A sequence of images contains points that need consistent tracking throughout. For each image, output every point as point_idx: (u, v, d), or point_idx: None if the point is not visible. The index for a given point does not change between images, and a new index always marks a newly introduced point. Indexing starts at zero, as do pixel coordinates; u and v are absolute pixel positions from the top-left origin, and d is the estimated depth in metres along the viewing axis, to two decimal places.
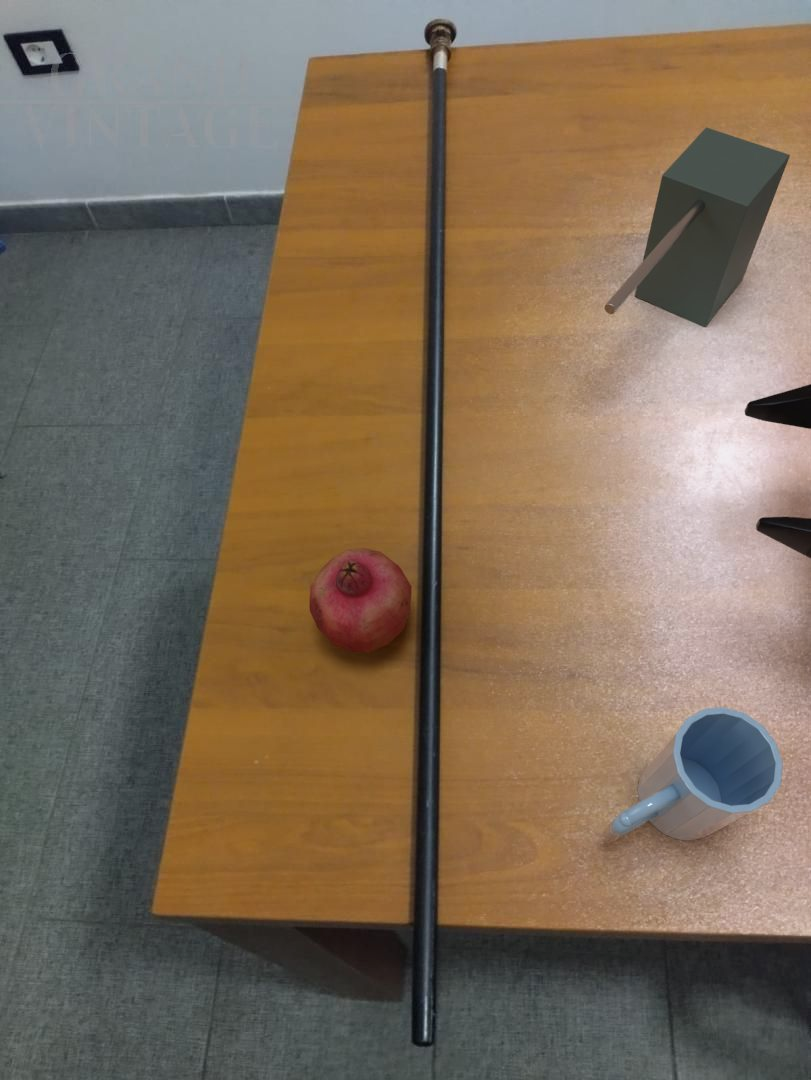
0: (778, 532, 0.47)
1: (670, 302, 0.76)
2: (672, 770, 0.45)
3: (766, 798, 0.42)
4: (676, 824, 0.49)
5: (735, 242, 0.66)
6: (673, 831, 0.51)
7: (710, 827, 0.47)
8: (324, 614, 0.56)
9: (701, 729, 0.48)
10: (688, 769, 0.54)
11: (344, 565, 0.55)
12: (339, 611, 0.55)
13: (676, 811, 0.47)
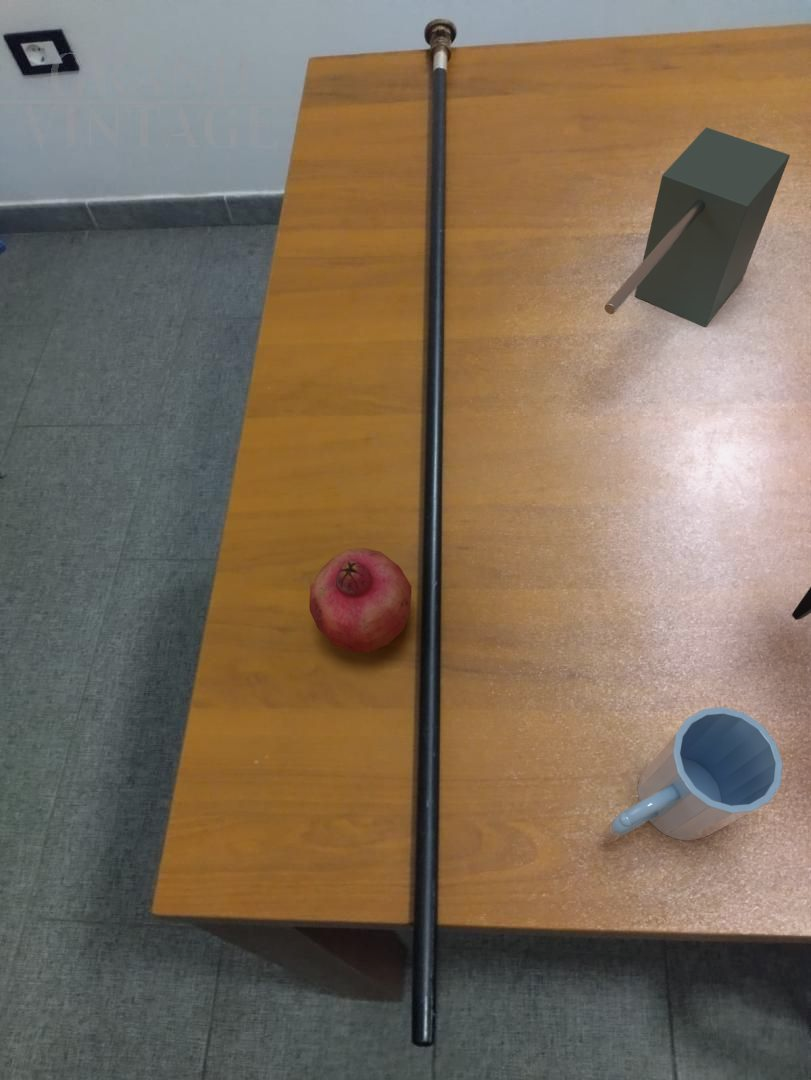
0: None
1: (670, 302, 0.76)
2: (672, 770, 0.45)
3: (766, 798, 0.42)
4: (676, 824, 0.49)
5: (735, 242, 0.66)
6: (673, 831, 0.51)
7: (710, 827, 0.47)
8: (324, 614, 0.56)
9: (701, 729, 0.48)
10: (688, 769, 0.54)
11: (344, 565, 0.55)
12: (339, 611, 0.55)
13: (676, 811, 0.47)
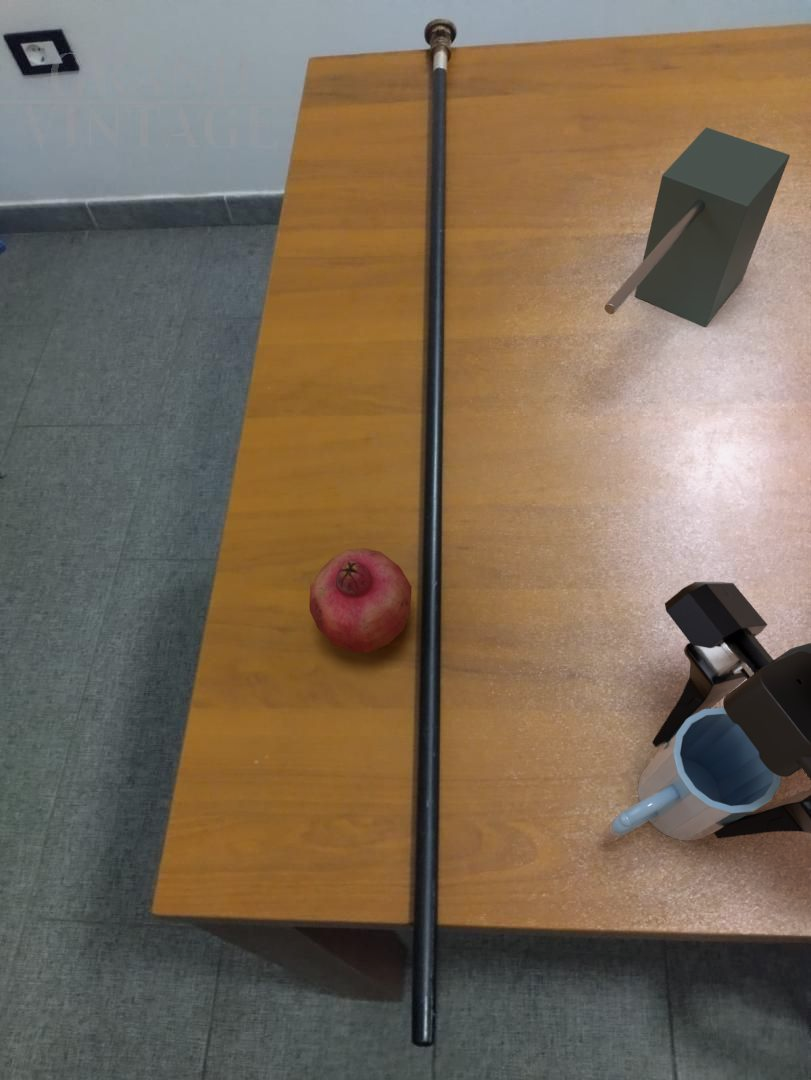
0: None
1: (670, 302, 0.76)
2: (672, 770, 0.45)
3: (766, 798, 0.42)
4: (676, 824, 0.49)
5: (735, 242, 0.66)
6: (673, 831, 0.51)
7: (710, 827, 0.47)
8: (324, 614, 0.56)
9: (701, 729, 0.48)
10: (688, 769, 0.54)
11: (344, 565, 0.55)
12: (339, 611, 0.55)
13: (676, 811, 0.47)
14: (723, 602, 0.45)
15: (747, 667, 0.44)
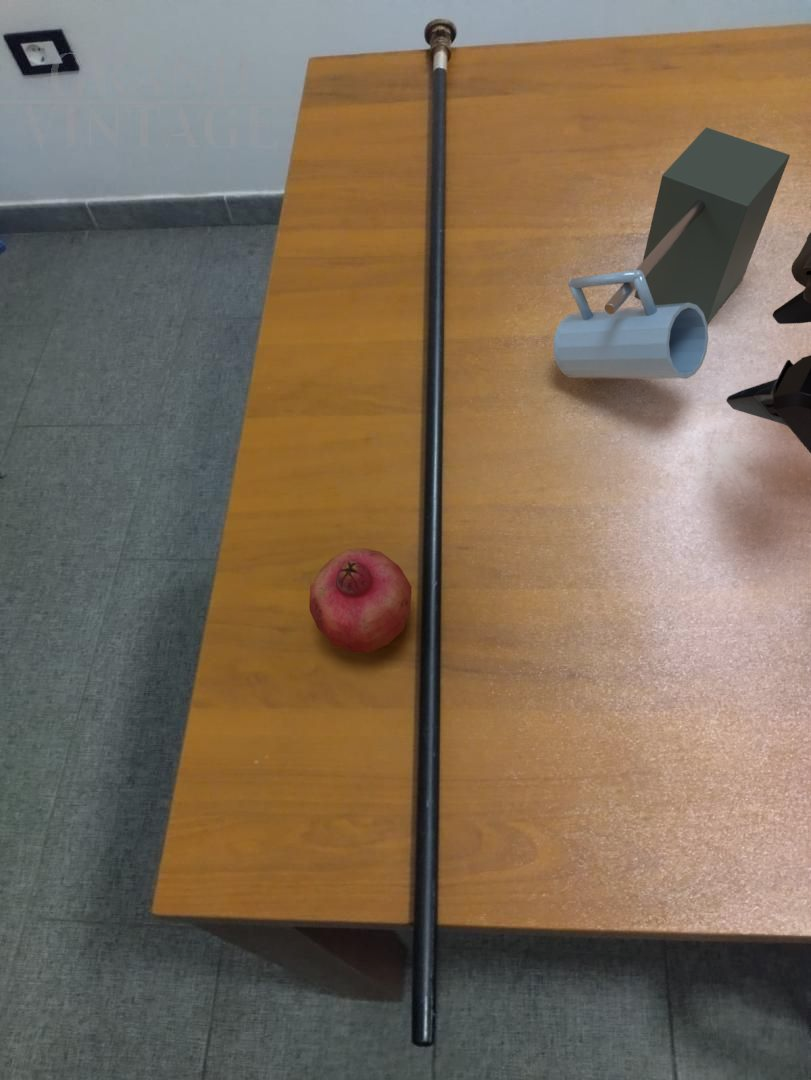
0: (740, 405, 0.56)
1: (670, 302, 0.76)
2: (671, 305, 0.61)
3: (672, 367, 0.61)
4: (592, 330, 0.66)
5: (735, 242, 0.66)
6: (573, 334, 0.67)
7: (608, 348, 0.65)
8: (324, 614, 0.56)
9: None
10: None
11: (344, 565, 0.55)
12: (339, 611, 0.55)
13: (618, 322, 0.64)
14: None
15: None
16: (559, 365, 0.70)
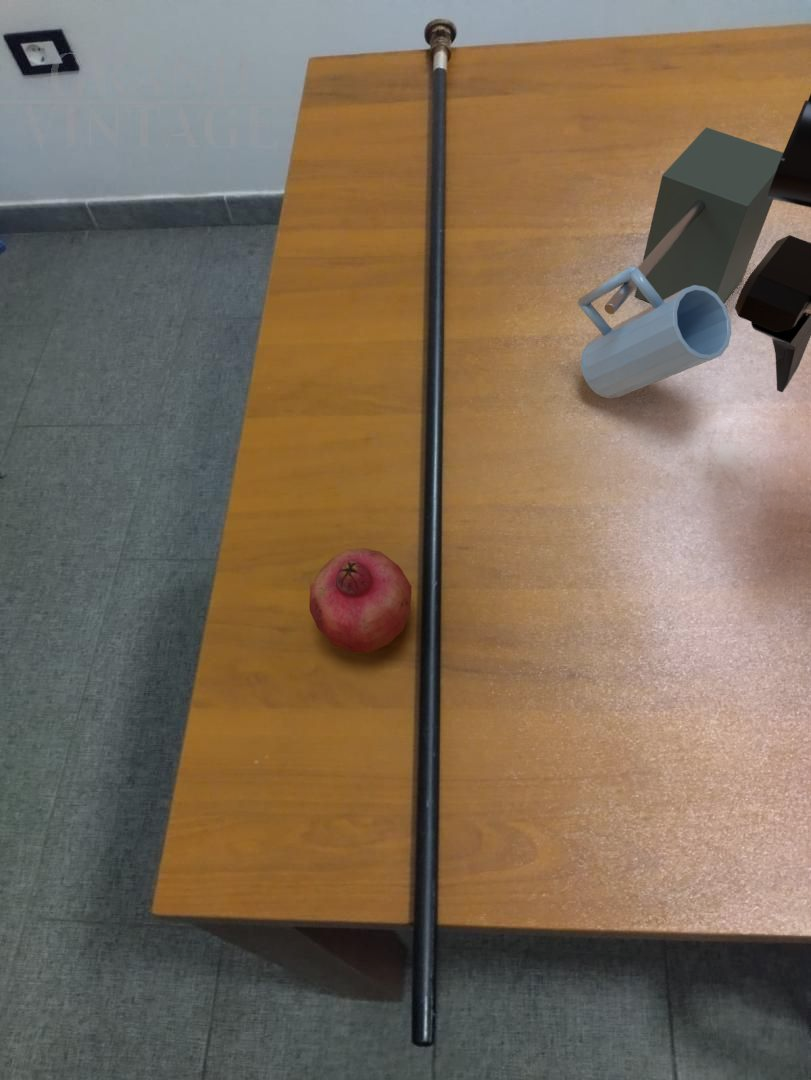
0: None
1: None
2: (677, 292, 0.60)
3: (689, 348, 0.59)
4: (610, 341, 0.65)
5: (735, 242, 0.66)
6: (595, 351, 0.67)
7: (627, 352, 0.63)
8: (324, 614, 0.56)
9: (693, 328, 0.64)
10: None
11: (344, 565, 0.55)
12: (339, 611, 0.55)
13: (631, 324, 0.63)
14: (782, 280, 0.46)
15: None
16: (591, 386, 0.69)
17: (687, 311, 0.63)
